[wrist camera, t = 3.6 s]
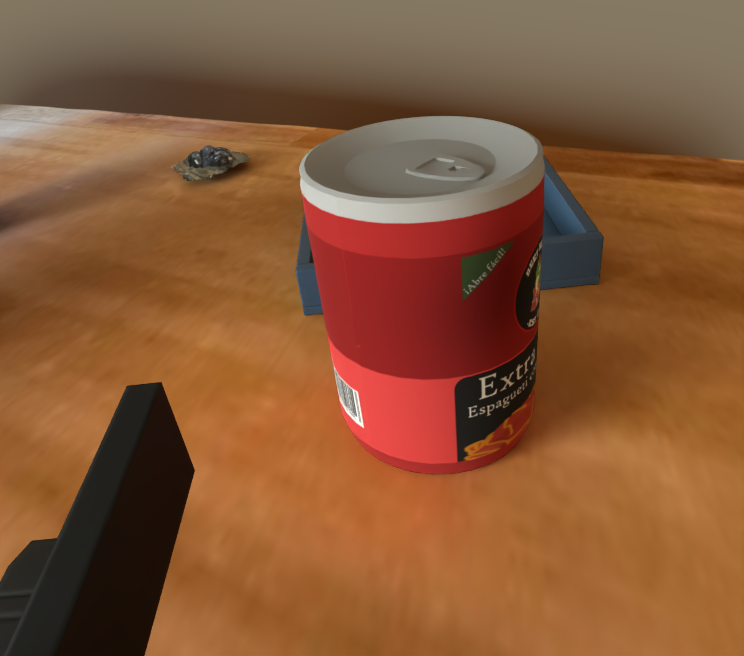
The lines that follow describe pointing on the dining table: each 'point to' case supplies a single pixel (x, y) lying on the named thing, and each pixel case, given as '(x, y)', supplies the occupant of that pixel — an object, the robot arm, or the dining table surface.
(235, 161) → the grey mineral rock
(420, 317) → the canned food
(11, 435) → the dining table surface
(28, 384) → the dining table surface
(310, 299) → the tray
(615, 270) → the dining table surface
